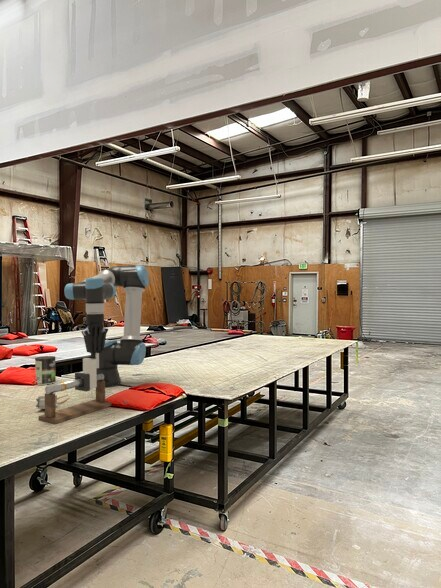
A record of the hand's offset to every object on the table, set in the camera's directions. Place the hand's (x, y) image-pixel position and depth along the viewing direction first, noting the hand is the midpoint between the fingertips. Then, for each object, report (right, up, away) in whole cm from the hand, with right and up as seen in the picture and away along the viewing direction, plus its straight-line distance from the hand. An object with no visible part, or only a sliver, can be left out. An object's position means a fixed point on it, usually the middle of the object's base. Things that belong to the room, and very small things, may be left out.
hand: (95, 368), depth 173 cm
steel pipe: (-5, -6, -8) cm, 12 cm away
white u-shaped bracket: (-2, -8, -4) cm, 9 cm away
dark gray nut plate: (-4, -8, -6) cm, 11 cm away
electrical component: (-19, -17, +5) cm, 26 cm away
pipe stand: (-5, -17, -8) cm, 19 cm away
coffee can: (-42, -17, +47) cm, 65 cm away
